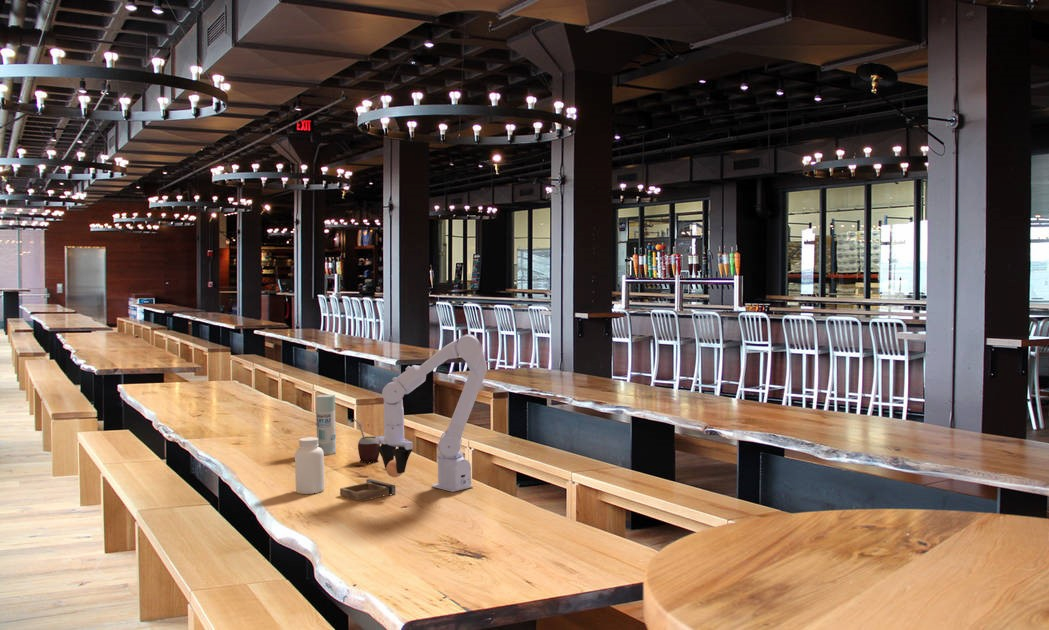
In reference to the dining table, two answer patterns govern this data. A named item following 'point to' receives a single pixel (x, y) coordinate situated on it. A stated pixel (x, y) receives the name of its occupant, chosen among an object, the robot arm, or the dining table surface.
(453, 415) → the robot arm
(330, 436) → the spray paint can
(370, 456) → the mate gourd
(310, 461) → the pill bottle
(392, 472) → the ball
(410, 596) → the dining table surface
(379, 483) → the rail
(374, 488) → the tray
